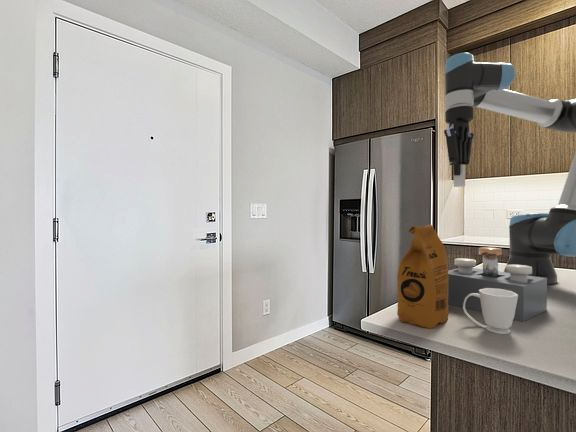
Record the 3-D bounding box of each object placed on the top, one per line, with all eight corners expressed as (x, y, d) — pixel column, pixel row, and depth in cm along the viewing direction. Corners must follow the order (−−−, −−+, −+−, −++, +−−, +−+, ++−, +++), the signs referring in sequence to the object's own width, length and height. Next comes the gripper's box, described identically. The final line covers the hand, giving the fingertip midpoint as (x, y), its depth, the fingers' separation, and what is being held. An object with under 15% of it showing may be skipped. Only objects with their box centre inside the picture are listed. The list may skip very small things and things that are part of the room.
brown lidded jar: (484, 277, 88) (484, 246, 88) (505, 281, 84) (505, 248, 84) (475, 280, 85) (475, 248, 85) (496, 284, 81) (496, 250, 81)
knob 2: (511, 296, 83) (511, 263, 83) (535, 301, 79) (535, 266, 79) (502, 299, 80) (502, 266, 80) (526, 304, 76) (526, 269, 76)
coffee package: (389, 320, 75) (389, 225, 74) (414, 308, 83) (414, 223, 83) (433, 332, 67) (433, 227, 67) (455, 317, 76) (455, 224, 75)
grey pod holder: (465, 293, 97) (465, 266, 97) (546, 309, 81) (546, 278, 80) (439, 301, 89) (439, 272, 89) (523, 321, 73) (523, 286, 72)
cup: (517, 339, 63) (517, 298, 63) (460, 328, 69) (460, 290, 69) (518, 328, 69) (519, 290, 68) (466, 319, 75) (466, 284, 75)
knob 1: (460, 286, 94) (460, 257, 94) (479, 290, 89) (479, 260, 89) (451, 289, 91) (451, 259, 91) (470, 293, 87) (470, 261, 86)
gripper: (457, 114, 104) (458, 187, 105) (435, 108, 97) (435, 186, 97) (482, 108, 98) (482, 186, 98) (460, 101, 90) (460, 185, 91)
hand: (459, 186), depth 98 cm, fingers closed
